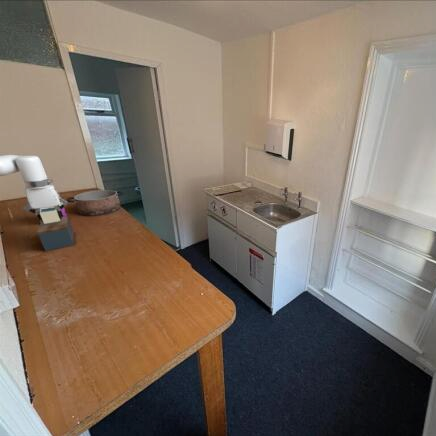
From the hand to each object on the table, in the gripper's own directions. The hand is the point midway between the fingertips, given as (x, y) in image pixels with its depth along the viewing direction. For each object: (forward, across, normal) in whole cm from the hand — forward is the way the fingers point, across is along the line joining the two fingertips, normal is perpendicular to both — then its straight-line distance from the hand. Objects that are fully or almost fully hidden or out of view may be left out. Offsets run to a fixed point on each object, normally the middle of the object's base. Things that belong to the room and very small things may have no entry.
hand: (52, 219), depth 113 cm
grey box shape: (+12, 0, 0) cm, 12 cm away
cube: (+1, 0, 0) cm, 1 cm away
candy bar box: (+13, +4, -33) cm, 36 cm away
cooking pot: (+13, -18, -41) cm, 47 cm away
